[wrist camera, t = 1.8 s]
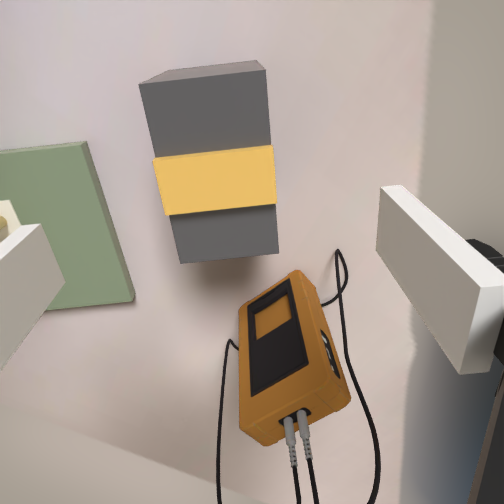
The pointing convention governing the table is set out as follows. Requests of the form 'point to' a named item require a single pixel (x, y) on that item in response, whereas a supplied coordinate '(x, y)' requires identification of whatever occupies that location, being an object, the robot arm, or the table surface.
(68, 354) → the table surface
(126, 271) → the board
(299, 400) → the multimeter
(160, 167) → the block
